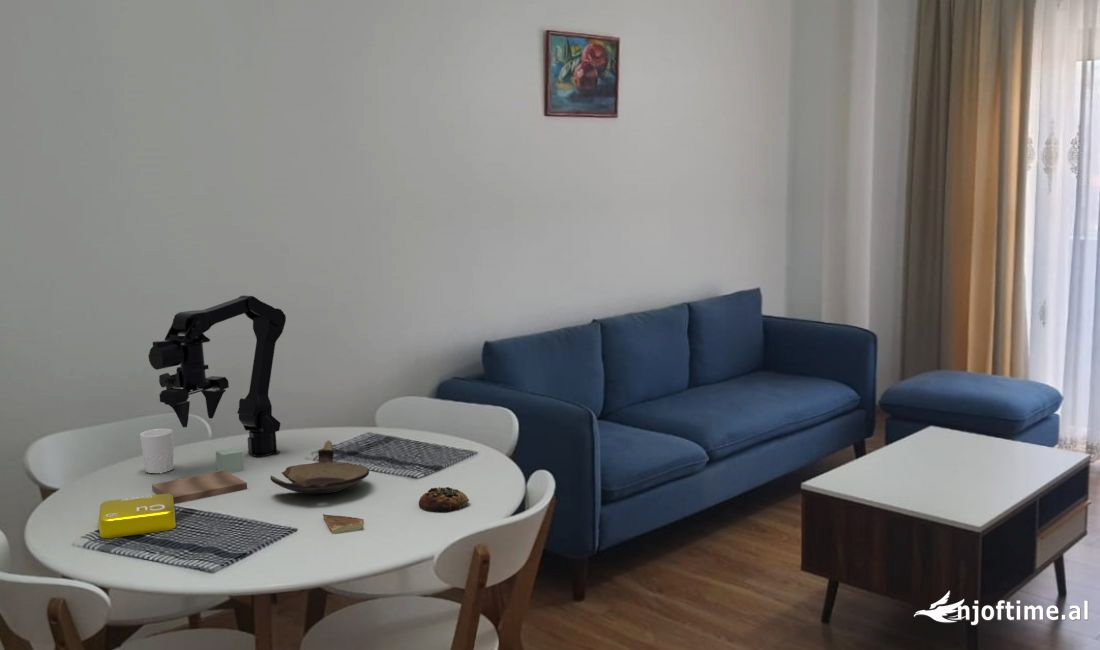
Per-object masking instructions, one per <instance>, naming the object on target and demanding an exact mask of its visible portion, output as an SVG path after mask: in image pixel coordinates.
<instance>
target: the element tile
mask: <svg viewBox="0 0 1100 650" xmlns="http://www.w3.org/2000/svg"><path fill="white" fill-rule="evenodd" d="M98 511H99V514H98V528H99V537H100V538H101V539H113V538H119V537H121V538H122V537H128V536H135V535H143V534H144V535H145V534H149V533H157V532H166V531H170V530H174V529H175V528H176V527H177V524H176V512H175V511H176V510H175V504H174V501H173V496H172V495H171V494H159V495H158V494H153V495H145V496H143V495H142V496H136V497H135V496H134V497H128V498H121V499H120V498H119V499H113V500H105V501H103V502H101V503H100V505H99V510H98Z"/></svg>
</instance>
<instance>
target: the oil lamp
mask: <svg viewBox="0 0 1100 650" xmlns="http://www.w3.org/2000/svg"><path fill="white" fill-rule="evenodd" d="M317 453H318V462H313V463H312V462H311V463H306V464H297V465H291V466H288V467H286V468H285V470H284V471H282V472H281V474H282V476H284V477H285V478H286V479H287V480H288V481H290V482H285V481H283V480H281V479H279V478H277V477H275V476H273V475H270V477H269V479H270V481H271V482H272V483H274V484H275V485H277V486H279V487H281V488H284V489H285V490H289V491H292V492H296V493H300V494H307V495H320V494H323V495H325V494H331V493H337V492H339V491H342V490H344V489H347V488H349V487H351V486H353V485H355V484H357V483H359V482H360V481H362V480H364V479H366V477H367V476H368V475H369V473H370V470H369V468H368V467H366V466H364V465H361V464H356V463H350V462H339V461H336V462H335V461H333V459H334V454H335V453H334V450H333V443H332V441H331V440H330V439H329V440H326V441H325V443H324V446H323V448H322V449H319V450H318V452H317Z"/></svg>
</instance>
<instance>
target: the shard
mask: <svg viewBox="0 0 1100 650" xmlns="http://www.w3.org/2000/svg"><path fill="white" fill-rule="evenodd" d="M322 516H323V520H324V521H325V523H326V524H327V525H328V528H329V530H330V531H331V533H332V534H334V535H335V534H341V533H347V532H355V531H360V530H361V529H362V527H363V525H364V521H365V520H364V518H359V517H351V516H343V515H333V514H331V515H330V514H324V513H323V514H322Z"/></svg>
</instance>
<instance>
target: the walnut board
mask: <svg viewBox="0 0 1100 650" xmlns="http://www.w3.org/2000/svg"><path fill="white" fill-rule="evenodd" d="M247 489H248V482H246V481H245V480H243V479H241V478H239V477H237V475H235V474H233V473H229V472H227V471H217V472H215V471H214V472H210V473H206V474H200V475H196V476H195V475H194V476H190V477H184V478H180V479H173V480H169V481H164V482H157V483H153V484H151V491H152V492H153V493H154V494H155V495H159V494H171V495H172V496H173V501H174V505H176V504H179V503H185V502H188V501H193V500H199V499H203V498H208V497H209V498H210V497H214V496H218V495H223V494H227V493H233V492H237V491H239V492H240V491H243V490H247Z"/></svg>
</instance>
